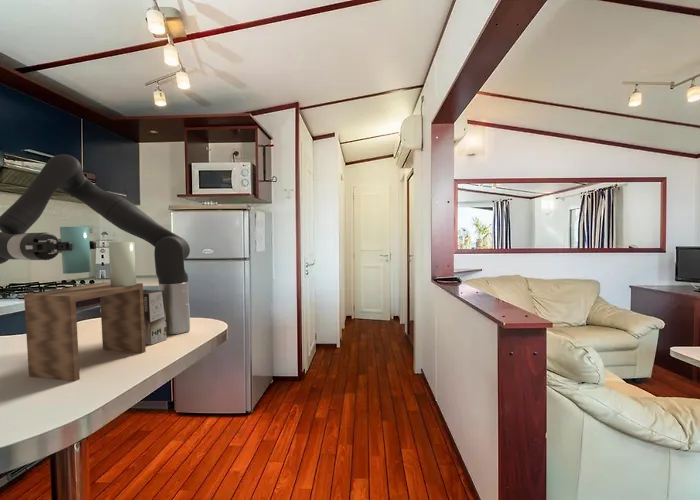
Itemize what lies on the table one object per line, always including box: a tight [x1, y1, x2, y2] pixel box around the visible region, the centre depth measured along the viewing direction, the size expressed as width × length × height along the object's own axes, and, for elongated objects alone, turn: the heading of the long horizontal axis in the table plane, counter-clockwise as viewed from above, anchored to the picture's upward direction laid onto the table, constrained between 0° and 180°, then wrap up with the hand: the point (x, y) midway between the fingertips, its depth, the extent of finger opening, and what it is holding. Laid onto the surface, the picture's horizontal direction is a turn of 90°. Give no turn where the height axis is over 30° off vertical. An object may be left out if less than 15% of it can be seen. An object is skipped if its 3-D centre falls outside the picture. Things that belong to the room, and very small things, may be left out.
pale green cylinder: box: [108, 241, 137, 287], centre depth 99 cm, size 6×6×12 cm
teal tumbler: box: [59, 226, 92, 275], centre depth 94 cm, size 6×6×12 cm
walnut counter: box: [23, 281, 147, 382], centre depth 94 cm, size 14×21×20 cm, turn 167°
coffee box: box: [143, 289, 168, 345], centre depth 113 cm, size 9×6×16 cm
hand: (83, 245), depth 93 cm, fingers closed on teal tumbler, 6 cm apart
